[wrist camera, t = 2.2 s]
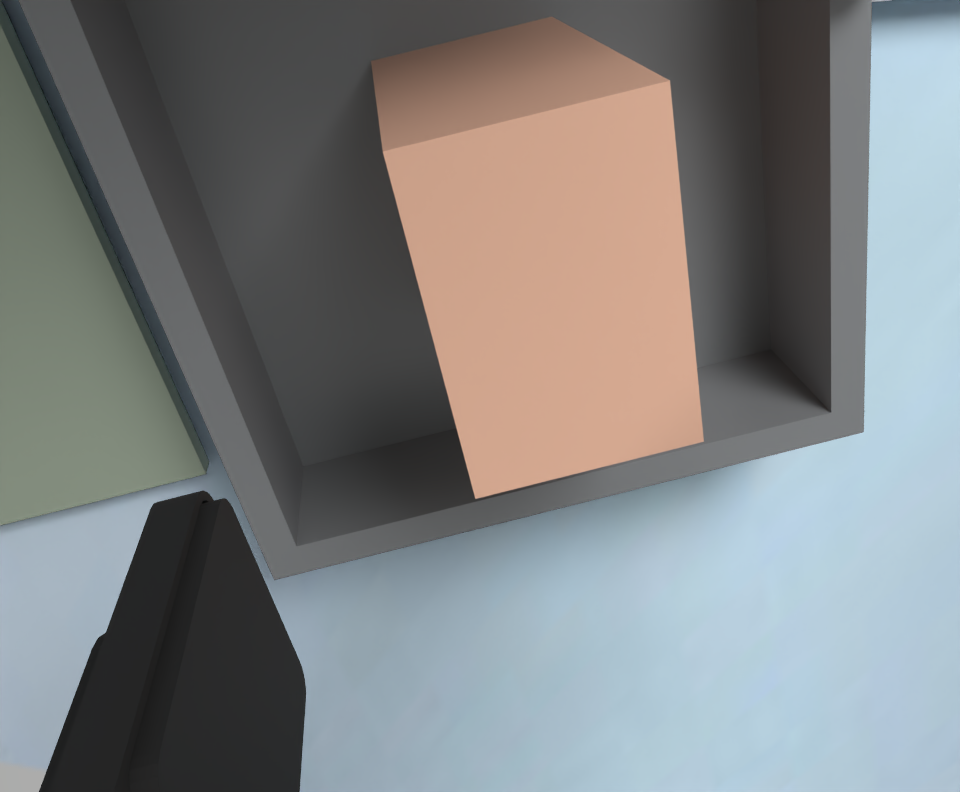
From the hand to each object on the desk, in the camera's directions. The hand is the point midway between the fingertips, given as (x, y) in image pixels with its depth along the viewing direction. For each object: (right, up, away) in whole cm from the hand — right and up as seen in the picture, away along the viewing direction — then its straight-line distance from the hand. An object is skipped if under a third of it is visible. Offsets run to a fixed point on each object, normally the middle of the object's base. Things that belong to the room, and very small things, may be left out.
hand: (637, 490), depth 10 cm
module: (-2, +6, +10) cm, 12 cm away
